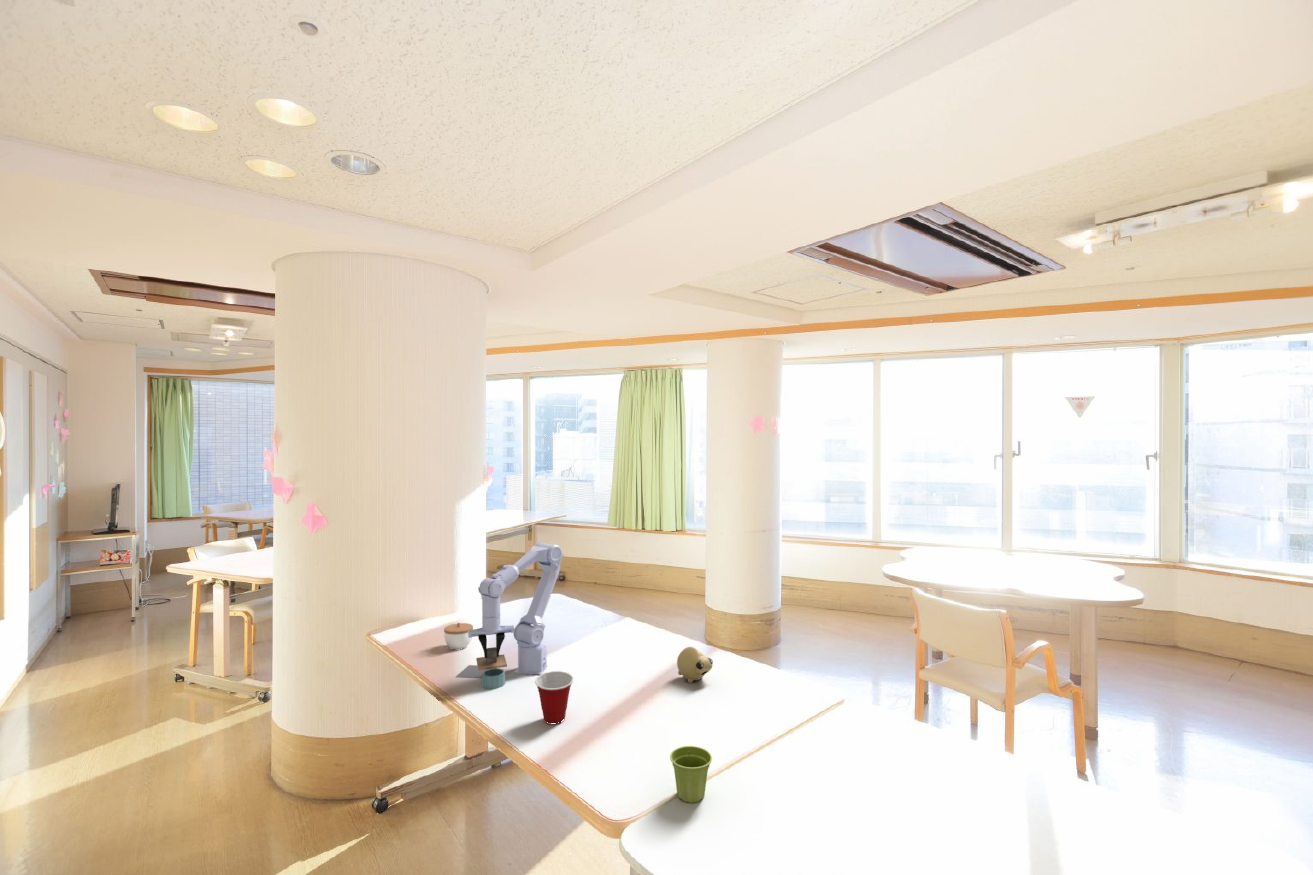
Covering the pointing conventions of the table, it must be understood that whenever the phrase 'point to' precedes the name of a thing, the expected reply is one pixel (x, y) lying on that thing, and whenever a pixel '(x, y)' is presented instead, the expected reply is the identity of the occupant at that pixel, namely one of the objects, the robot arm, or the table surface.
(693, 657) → the tan toy animal
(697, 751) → the plant pot
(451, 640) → the lidded jar
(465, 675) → the mat
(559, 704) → the plastic cup
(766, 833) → the table surface
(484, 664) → the cover
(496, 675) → the bowl
